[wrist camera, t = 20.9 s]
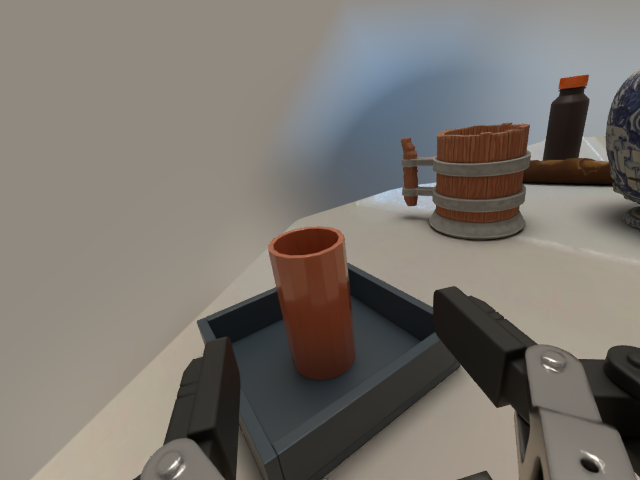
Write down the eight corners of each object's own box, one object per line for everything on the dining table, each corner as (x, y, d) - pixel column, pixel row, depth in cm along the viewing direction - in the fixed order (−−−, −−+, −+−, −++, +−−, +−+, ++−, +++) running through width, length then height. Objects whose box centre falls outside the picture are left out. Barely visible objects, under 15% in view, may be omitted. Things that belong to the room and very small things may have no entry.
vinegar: (546, 164, 79) (560, 78, 72) (580, 165, 74) (598, 73, 67) (537, 170, 76) (550, 79, 68) (571, 171, 71) (590, 74, 63)
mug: (518, 247, 42) (534, 131, 36) (387, 230, 53) (383, 140, 47) (529, 213, 52) (542, 118, 46) (416, 205, 63) (416, 128, 57)
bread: (697, 182, 55) (708, 154, 53) (705, 190, 51) (717, 159, 49) (468, 177, 77) (469, 157, 75) (462, 182, 74) (463, 161, 72)
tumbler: (314, 392, 23) (290, 266, 19) (281, 352, 28) (256, 242, 24) (369, 357, 26) (359, 238, 22) (331, 325, 30) (317, 221, 26)
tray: (278, 513, 17) (263, 465, 16) (208, 356, 30) (196, 320, 28) (460, 365, 25) (463, 323, 23) (344, 290, 37) (341, 258, 36)
